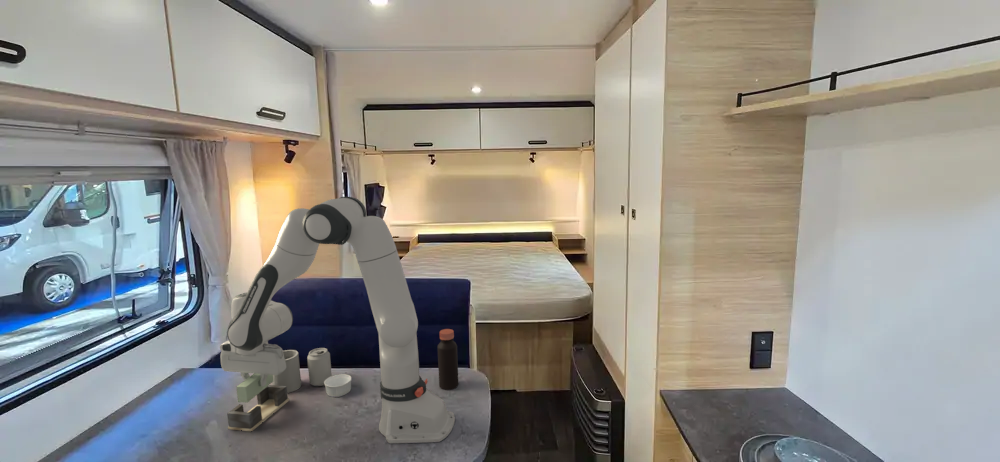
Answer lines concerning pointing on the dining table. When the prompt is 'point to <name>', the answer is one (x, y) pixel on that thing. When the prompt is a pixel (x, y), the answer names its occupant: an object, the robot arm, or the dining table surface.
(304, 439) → the dining table surface
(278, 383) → the cup
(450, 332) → the bottle
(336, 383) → the ramekin
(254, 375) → the slat
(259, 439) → the dining table surface
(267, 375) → the robot arm
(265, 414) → the grey and cream cradle
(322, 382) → the can
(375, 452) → the dining table surface
